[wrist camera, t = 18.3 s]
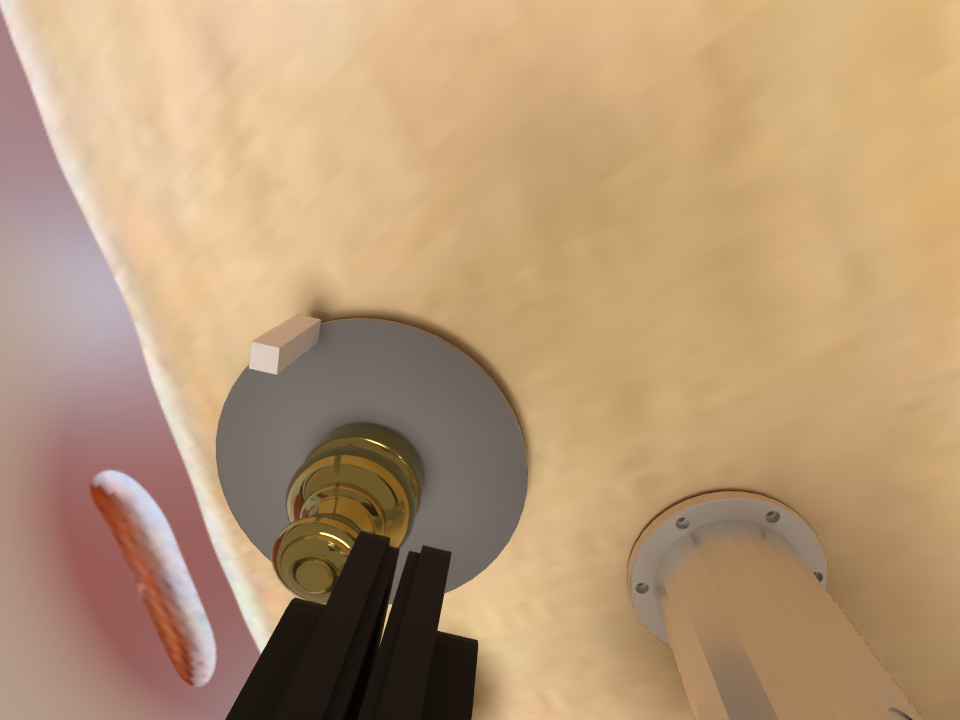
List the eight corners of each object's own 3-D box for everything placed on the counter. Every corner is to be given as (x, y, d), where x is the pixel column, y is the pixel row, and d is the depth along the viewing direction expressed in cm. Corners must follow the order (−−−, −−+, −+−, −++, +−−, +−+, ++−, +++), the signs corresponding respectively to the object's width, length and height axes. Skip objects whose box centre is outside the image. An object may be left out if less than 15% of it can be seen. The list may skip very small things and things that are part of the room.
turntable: (561, 358, 34) (571, 400, 27) (490, 623, 40) (484, 708, 33) (233, 285, 34) (165, 309, 27) (212, 560, 40) (153, 634, 33)
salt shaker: (303, 420, 35) (223, 509, 26) (422, 419, 35) (385, 510, 25) (318, 523, 37) (248, 640, 28) (430, 524, 37) (398, 644, 27)
